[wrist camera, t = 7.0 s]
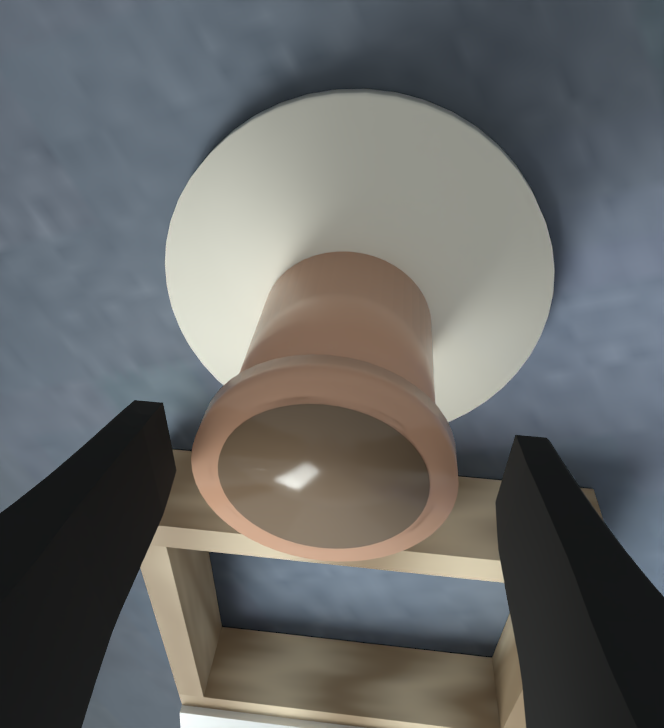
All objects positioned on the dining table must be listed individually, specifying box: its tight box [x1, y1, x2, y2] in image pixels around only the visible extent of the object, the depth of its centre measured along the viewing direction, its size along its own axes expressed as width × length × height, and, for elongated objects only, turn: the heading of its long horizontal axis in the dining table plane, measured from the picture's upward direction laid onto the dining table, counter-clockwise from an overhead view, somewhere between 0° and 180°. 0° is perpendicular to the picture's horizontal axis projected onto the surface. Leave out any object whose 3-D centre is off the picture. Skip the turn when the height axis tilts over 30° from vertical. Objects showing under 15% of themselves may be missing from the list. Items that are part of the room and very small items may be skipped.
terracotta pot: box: [191, 252, 459, 562], centre depth 15 cm, size 6×6×6 cm
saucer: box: [165, 89, 555, 422], centre depth 17 cm, size 11×11×1 cm
